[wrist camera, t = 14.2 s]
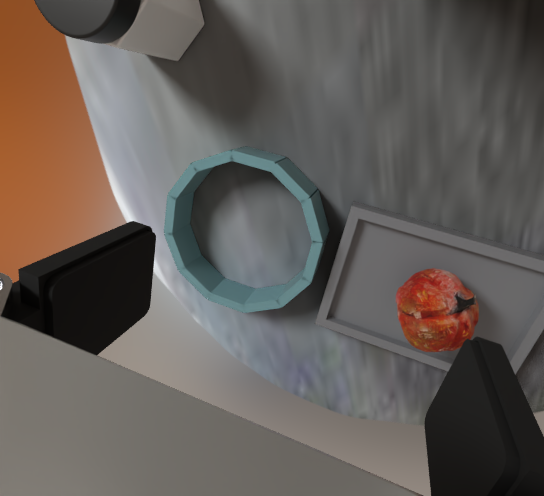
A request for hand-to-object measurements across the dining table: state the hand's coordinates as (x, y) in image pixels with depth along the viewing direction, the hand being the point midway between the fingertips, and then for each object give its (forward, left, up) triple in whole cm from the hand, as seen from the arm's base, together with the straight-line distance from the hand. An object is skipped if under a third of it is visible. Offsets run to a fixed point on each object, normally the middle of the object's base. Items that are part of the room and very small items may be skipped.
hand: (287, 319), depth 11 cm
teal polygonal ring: (+9, -10, -28) cm, 31 cm away
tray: (+10, +10, -28) cm, 32 cm away
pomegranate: (+10, +10, -28) cm, 31 cm away
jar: (-10, -23, -28) cm, 38 cm away
